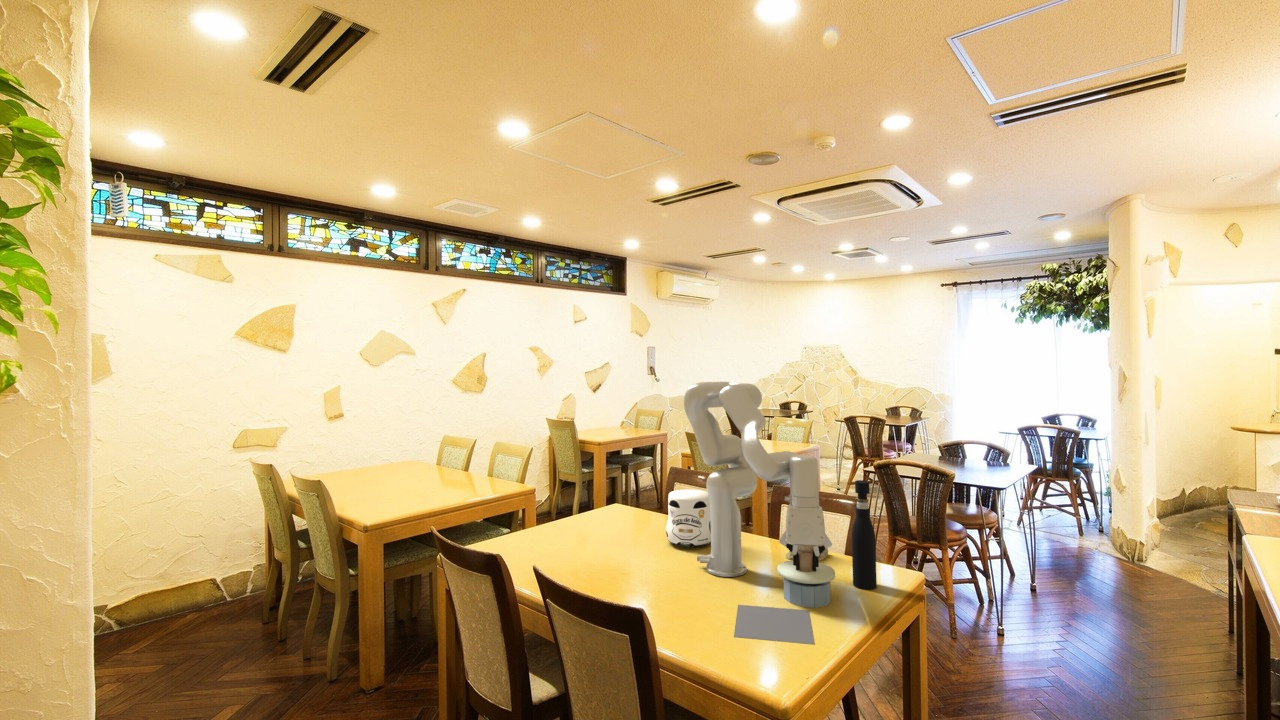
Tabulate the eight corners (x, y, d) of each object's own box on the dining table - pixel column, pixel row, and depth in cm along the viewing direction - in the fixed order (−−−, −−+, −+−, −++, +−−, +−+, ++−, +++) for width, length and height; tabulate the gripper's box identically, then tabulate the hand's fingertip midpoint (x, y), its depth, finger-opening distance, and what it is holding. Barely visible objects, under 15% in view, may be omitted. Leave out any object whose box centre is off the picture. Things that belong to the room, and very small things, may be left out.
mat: (733, 640, 128) (733, 636, 128) (737, 607, 145) (737, 604, 145) (814, 647, 123) (814, 644, 123) (808, 613, 141) (808, 610, 141)
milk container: (678, 553, 189) (677, 501, 189) (658, 539, 205) (658, 491, 206) (722, 547, 195) (721, 496, 196) (700, 534, 211) (699, 487, 212)
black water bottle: (848, 581, 161) (846, 479, 162) (869, 580, 162) (867, 479, 163) (859, 590, 155) (856, 484, 156) (881, 589, 156) (878, 483, 156)
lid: (778, 581, 143) (777, 558, 143) (777, 561, 158) (776, 541, 158) (838, 585, 140) (838, 562, 140) (831, 565, 155) (831, 543, 155)
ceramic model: (807, 566, 175) (807, 534, 176) (779, 557, 184) (779, 527, 185) (834, 556, 184) (833, 526, 184) (806, 548, 193) (805, 519, 193)
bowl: (784, 608, 144) (784, 585, 144) (783, 590, 156) (782, 569, 156) (832, 612, 142) (832, 588, 142) (827, 593, 153) (827, 572, 153)
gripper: (773, 503, 148) (774, 571, 147) (838, 505, 144) (840, 576, 143) (772, 497, 155) (774, 562, 155) (835, 499, 151) (836, 566, 151)
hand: (805, 568), depth 149 cm, fingers closed on lid, 3 cm apart
